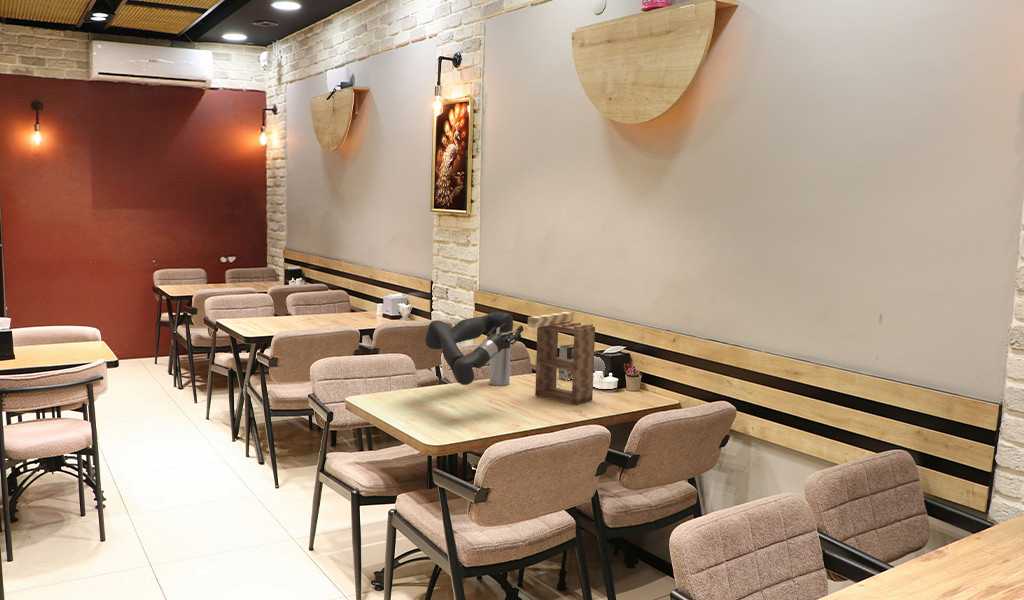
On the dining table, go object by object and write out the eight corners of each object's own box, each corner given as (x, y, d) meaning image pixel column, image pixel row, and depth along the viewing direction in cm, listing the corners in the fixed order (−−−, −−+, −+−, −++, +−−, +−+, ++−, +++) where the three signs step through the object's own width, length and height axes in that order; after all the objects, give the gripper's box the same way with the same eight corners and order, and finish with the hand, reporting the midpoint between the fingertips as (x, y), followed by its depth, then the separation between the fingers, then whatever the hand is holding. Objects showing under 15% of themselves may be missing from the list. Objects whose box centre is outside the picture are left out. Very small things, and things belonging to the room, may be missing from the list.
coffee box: (567, 381, 376) (568, 347, 374) (557, 378, 381) (559, 345, 379) (580, 378, 382) (582, 345, 380) (571, 376, 387) (572, 343, 385)
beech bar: (534, 327, 330) (535, 318, 330) (527, 326, 333) (527, 317, 333) (572, 321, 350) (573, 312, 349) (565, 320, 352) (566, 311, 352)
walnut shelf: (575, 405, 332) (578, 327, 328) (535, 395, 346) (537, 321, 342) (592, 400, 341) (595, 324, 337) (552, 391, 355) (554, 318, 351)
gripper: (500, 342, 308) (525, 320, 318) (474, 337, 318) (499, 316, 328) (506, 358, 312) (530, 335, 322) (479, 352, 321) (503, 331, 331)
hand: (514, 326), depth 325 cm, fingers open, 8 cm apart
